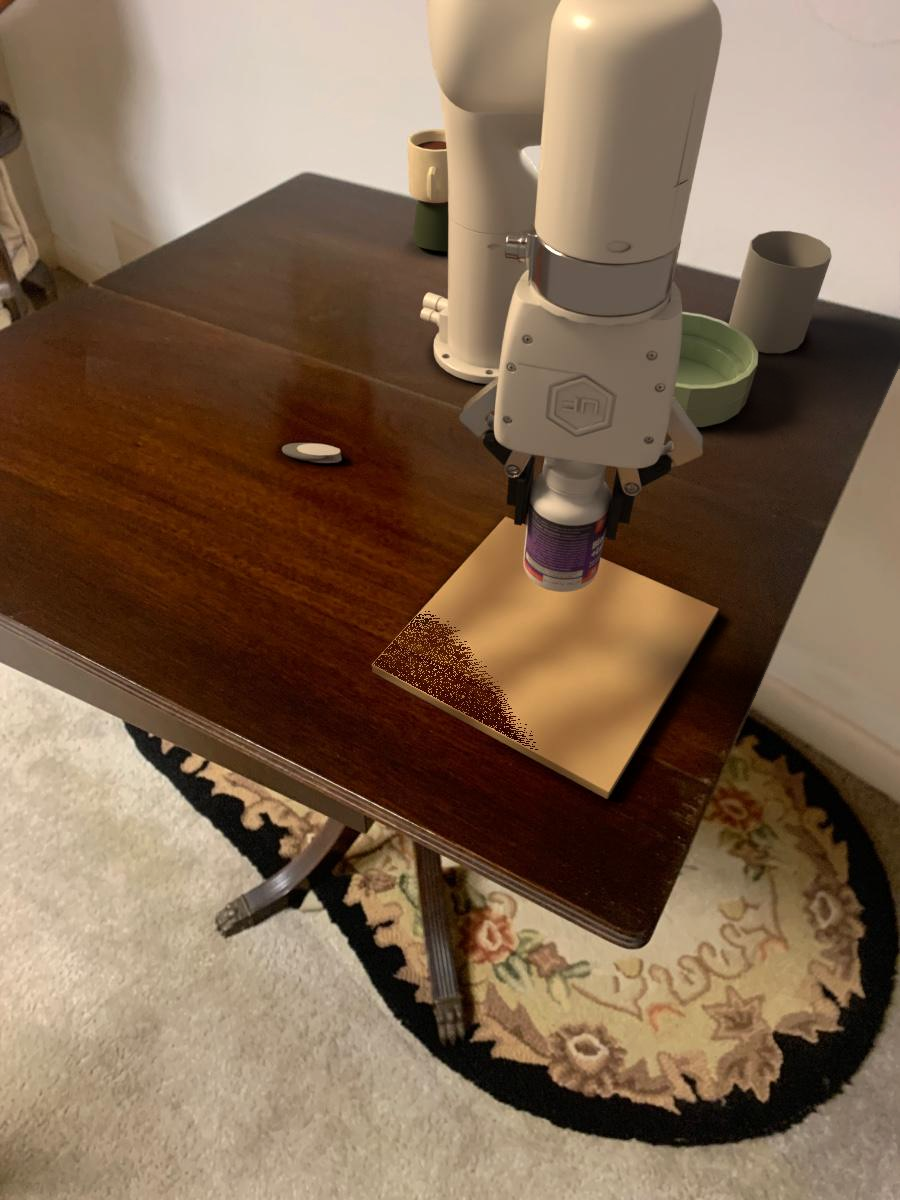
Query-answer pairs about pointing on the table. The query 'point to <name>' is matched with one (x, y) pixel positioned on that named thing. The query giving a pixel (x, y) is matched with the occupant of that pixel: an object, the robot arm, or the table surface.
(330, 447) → the oval pebble
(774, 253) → the cup
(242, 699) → the table surface
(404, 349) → the table surface
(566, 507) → the pill bottle
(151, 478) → the table surface
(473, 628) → the mat
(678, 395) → the bowl
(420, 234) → the character mug
